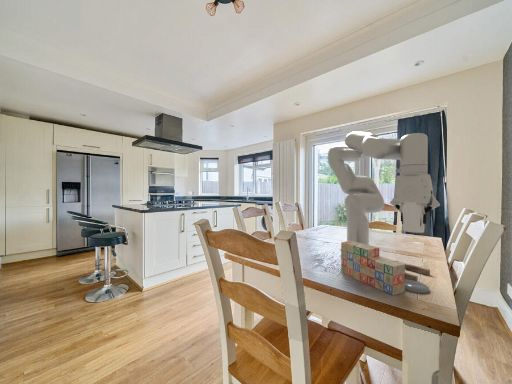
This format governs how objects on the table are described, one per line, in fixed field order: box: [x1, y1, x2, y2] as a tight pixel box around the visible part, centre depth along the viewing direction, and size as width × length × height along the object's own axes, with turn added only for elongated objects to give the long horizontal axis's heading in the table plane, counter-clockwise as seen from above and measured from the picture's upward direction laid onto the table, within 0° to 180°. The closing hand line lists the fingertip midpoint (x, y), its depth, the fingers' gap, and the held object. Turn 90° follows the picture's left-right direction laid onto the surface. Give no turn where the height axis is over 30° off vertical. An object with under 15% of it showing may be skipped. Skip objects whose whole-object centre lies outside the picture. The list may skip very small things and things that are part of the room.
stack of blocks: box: [340, 240, 406, 296], centre depth 78 cm, size 21×6×12 cm, turn 23°
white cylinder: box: [402, 202, 427, 234], centre depth 72 cm, size 7×7×10 cm
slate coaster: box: [405, 279, 430, 295], centre depth 72 cm, size 9×9×1 cm
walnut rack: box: [396, 260, 431, 282], centre depth 85 cm, size 12×13×2 cm
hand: (413, 224), depth 73 cm, fingers closed on white cylinder, 4 cm apart
